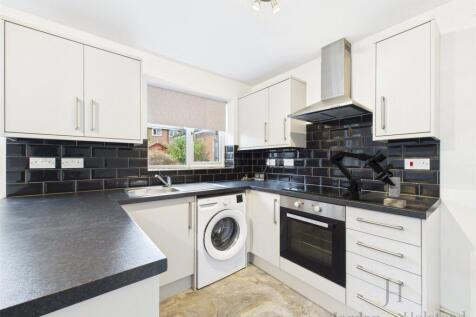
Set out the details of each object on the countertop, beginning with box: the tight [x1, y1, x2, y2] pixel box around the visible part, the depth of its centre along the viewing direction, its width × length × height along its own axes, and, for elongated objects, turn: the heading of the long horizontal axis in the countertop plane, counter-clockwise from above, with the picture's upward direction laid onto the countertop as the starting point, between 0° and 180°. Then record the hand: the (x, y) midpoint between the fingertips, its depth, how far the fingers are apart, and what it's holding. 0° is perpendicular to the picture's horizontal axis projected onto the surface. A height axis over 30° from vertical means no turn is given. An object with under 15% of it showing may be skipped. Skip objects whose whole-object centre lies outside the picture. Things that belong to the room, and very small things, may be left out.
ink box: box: [388, 176, 401, 198], centre depth 133 cm, size 8×5×12 cm, turn 134°
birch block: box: [383, 198, 407, 209], centre depth 132 cm, size 10×7×4 cm
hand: (396, 185), depth 132 cm, fingers closed on ink box, 9 cm apart
